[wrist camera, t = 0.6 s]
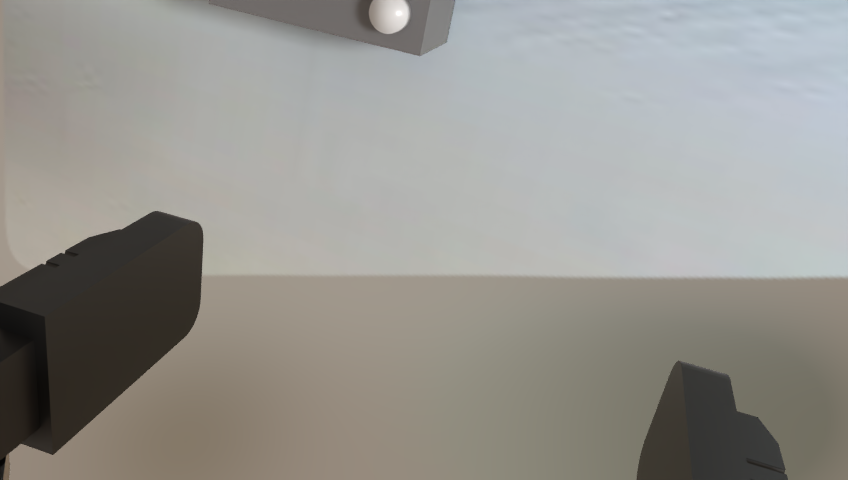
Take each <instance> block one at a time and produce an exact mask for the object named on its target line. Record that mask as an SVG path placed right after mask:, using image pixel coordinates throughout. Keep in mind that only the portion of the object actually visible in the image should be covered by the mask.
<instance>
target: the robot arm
mask: <svg viewBox="0 0 848 480" xmlns="http://www.w3.org/2000/svg"><path fill="white" fill-rule="evenodd" d="M202 256H203V231H202V228H201V226H200V224H199V223H197V222H195V221H191V220H188V219H184V218H181V217H177V216H174V215H170V214H167V213H163V212H159V211H154V212H152V213H150V214H148V215H146V216H144V217H143V218H141V219H139V220H137V221H136V222H134V223H132V224H131V225H129V226H127V227H125V228H124V229H122V230H120V229H119V230H115V231H112V232H108V233H104V234H100V235H96V236H93V237H89V238H87V239H85V240H83V241H82V242H80V243H78V244H76V245H74V246H73V247H71V248H69V249H67V250H66V251H65V254H63V253H60V254H58V255H56V256H55V257H53V258H51V259H49V260H47V261H46V264H45V265H44V264H40V265H38V266H37V267H35V268H33V269H31V270H30V271H28V272H26V273H24V274H22V275H21V276H19V277H17V278H15V279H13V280H12V281H10V282H8V283H6V284H5V285H3V286H1V287H0V480H9V476H10V459H9V453H10V452H11V451H12V450H13V449H15V448H16V447H17V446H18V445H19V444H24V445H27V446H29V447H32V448H35V449H38V450H41V451H44V452H46V453H49V454H52V455H53V454H55V453H56V452H57V451H58V450H59V449H60V448H61V447H62V446H63V445H65V444H66V443H67V442H68V441H69V440H70V439H71V438H72V437H74V436H75V435H76V434H77V433H78V432H79V431H80V430H81V429H83V428H84V427H85V426H86V425H87V424H88V423H89V422H90V421H92V420H93V419H94V418H95V417H96V416H97V415H98V414H99V413H101V411H103V410H104V409H105V408H106V407H107V406H108V405H109V404H111V403H112V402H113V401H114V400H115V399H116V398H117V397H118V396H119V395H121V394H122V393H123V392H124V391H125V390H126V389H127V388H128V387H129V386H131V385H132V384H133V383H134V382H135V381H136V380H137V379H139V378H140V377H141V376H142V375H143V374H144V373H145V372H146V371H147V370H148V369H150V368H151V367H152V366H153V365H154V364H155V363H156V362H158V361H159V360H160V359H161V358H162V357H163V356H164V355H165V354H167V353H168V352H169V351H170V350H171V349H172V348H173V347H174V346H175V345H177V344H178V343H179V342H180V341H181V340H182V339H183V338H184V337H185V336H186V335H187V334H188V333H189V332H190V330H191V328H192V327H193V325H194V323H195V320H196V318H197V315H198V311H199V307H200V299H201V277H202ZM784 472H785V467H784V463H783V460H782V456H781V452H780V448H779V445H778V443H777V441H776V440H775V439H774V438H773V436H772V435H771V434H770V433H769V431H768V430H767V429H766V427H765V426H764V425H763V424H762V422H761V421H760V420H759V418H758V417H755V416H751V415H748V414H744V413H741V412H737V411H736V406H735V401H734V396H733V391H732V386H731V381H730V378H729V376H728V375H727V374H724V373H720V372H717V371H713V370H710V369H706V368H703V367H699V366H695V365H692V364H689V363H685V362H682V361H678V362H676V363H675V365H674V367H673V369H672V371H671V373H670V375H669V378H668V381H667V383H666V386H665V389H664V391H663V394H662V396H661V399H660V402H659V404H658V407H657V410H656V412H655V415H654V417H653V420H652V423H651V425H650V428H649V431H648V433H647V436H646V439H645V441H644V444H643V448H642V451H641V456H640V460H639V465H638V471H637V480H788V478H787V475H786V474H784Z"/></svg>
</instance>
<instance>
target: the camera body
mask: <svg viewBox="0 0 848 480" xmlns="http://www.w3.org/2000/svg"><path fill="white" fill-rule="evenodd" d="M209 4H212V5H216V6H220V7H224V8H229V9H233V10H237V11H241V12H245V13H249V14H253V15H257V16H261V17H265V18H269V19H273V20H277V21H281V22H285V23H289V24H293V25H297V26H301V27H305V28H309V29H313V30H317V31H321V32H325V33H329V34H333V35H337V36H341V37H345V38H349V39H353V40H357V41H361V42H365V43H369V44H373V45H377V46H382V47H386V48H390V49H394V50H398V51H402V52H406V53H410V54H414V55H418V56H421V55H423V54H425V53H427V52H429V51H431V50H433V49H435V48H437V47H439V46H441V45H443V44H444V43H446V42H447V38H448V33H449V28H450V24H451V19H452V14H453V9H454V4H455V0H209Z"/></svg>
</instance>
